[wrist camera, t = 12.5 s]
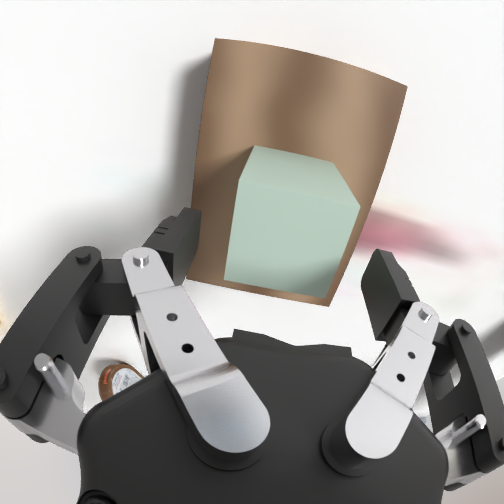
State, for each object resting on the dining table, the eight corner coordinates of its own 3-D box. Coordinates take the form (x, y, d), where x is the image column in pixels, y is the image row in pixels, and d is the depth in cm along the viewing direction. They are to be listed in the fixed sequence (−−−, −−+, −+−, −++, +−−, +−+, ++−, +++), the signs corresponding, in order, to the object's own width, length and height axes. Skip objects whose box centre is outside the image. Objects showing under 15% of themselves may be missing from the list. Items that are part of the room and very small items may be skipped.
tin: (109, 354, 39) (88, 396, 31) (122, 352, 38) (101, 397, 31) (164, 403, 45) (152, 442, 38) (177, 403, 45) (166, 443, 37)
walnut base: (386, 85, 17) (407, 86, 13) (324, 277, 27) (328, 306, 23) (226, 46, 17) (215, 38, 13) (198, 252, 26) (186, 278, 23)
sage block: (333, 162, 17) (360, 206, 11) (313, 230, 20) (324, 298, 14) (254, 145, 17) (238, 179, 11) (242, 216, 20) (223, 279, 14)
